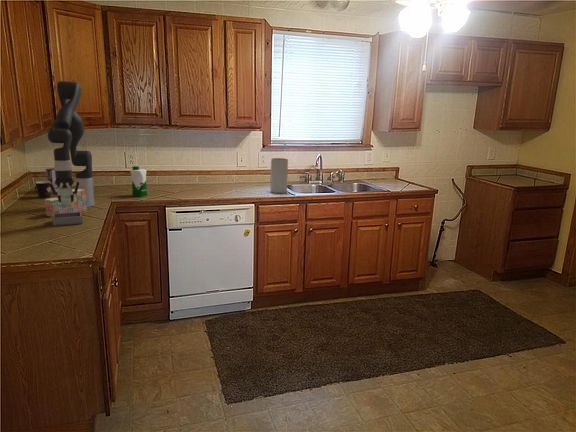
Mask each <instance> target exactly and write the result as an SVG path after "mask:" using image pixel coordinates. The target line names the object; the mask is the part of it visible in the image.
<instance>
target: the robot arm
mask: <svg viewBox="0 0 576 432" xmlns="http://www.w3.org/2000/svg"><path fill="white" fill-rule="evenodd" d="M56 91H57V95H58V99H59V102H60V106H61V107H60V109H59V110H58V112H57V113H56V117H55V121H54V122H53V123H52V125H51V126H50V128H49V129H48V132H47V139H48V140H49V142H50V143H52V144H62V146H61V147H58V148H54V149H53V157H54V158H53V160H54V167H53V168H54V169H55V177H56V180H55V182H53V183H50V184H49V185H50V187H51V190H52V192H53V193H52V194H53V195H56V196H57V197H58V201H59V202H60V203H61V195H60V188H70V194H71V202H73V201H74V196H73V195H74V194H76V193H77V191H78V189H84V190H86V198H87V208H90V207H94V206H95V191H94V189H95V188H94V179H93V178H94V177H93V165H92V164H93V158H92V157H93V156H92V152H91V151H90V150H78V149H77V147H78V144H79V143H80V140H81V139H82V138H83V136H84V133H85V126H84V122H83V119H82V117H81V116H80V115H79V113H78V112H77V111H76V109H77V107H78V104H79V103H80V100H81V97H82V86H81V84H80V83H79V82H77V81H66V80H60V81H57V85H56ZM72 165H73V166H74V167H85V168H84V169H83V170H81V171H80V170H79V171H78V172H75V181H74V180H73V170H72ZM55 184H56V185H57V186H58V187H59V190H58V192H56V191H55V189H54V186H55ZM72 185H74V187H75V188H74V189H75V191H72V189H73V188H72Z"/></svg>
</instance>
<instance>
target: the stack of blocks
mask: <svg viewBox="0 0 576 432" xmlns="http://www.w3.org/2000/svg"><path fill="white" fill-rule="evenodd" d="M71 189H72V191H75V188H71ZM73 196H74V201H73V202H71V205H72V207H66V208H62V205H61V203H60V202H59V201H58V196H57V197H50V198H44V205H45V206H44V207H45V215H46V216H47V217H51V218H53V214H56V213H71V212H83V211H88V207H87V198H86V190H84V189H78V191H77V193H76V194H74V195H73Z"/></svg>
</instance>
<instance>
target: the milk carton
mask: <svg viewBox="0 0 576 432" xmlns="http://www.w3.org/2000/svg"><path fill="white" fill-rule="evenodd" d="M129 171H130V175H131V188H132V190H131V194H132V195H131V196H132V197H137V198H143V197H146V196H148V191H147V171H148V170H147V169H143V168H140V167H139V166H135V165H134V166H132V169H130V170H129Z"/></svg>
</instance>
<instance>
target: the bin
mask: <svg viewBox="0 0 576 432" xmlns="http://www.w3.org/2000/svg"><path fill="white" fill-rule="evenodd" d="M82 212H83V211H80V212H71V213H56V214H53V217H51V218H52V220H51V221H52V226H53V227H57V226H58V227H59V226H71V225H73V226H75V225H83V215H82Z"/></svg>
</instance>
